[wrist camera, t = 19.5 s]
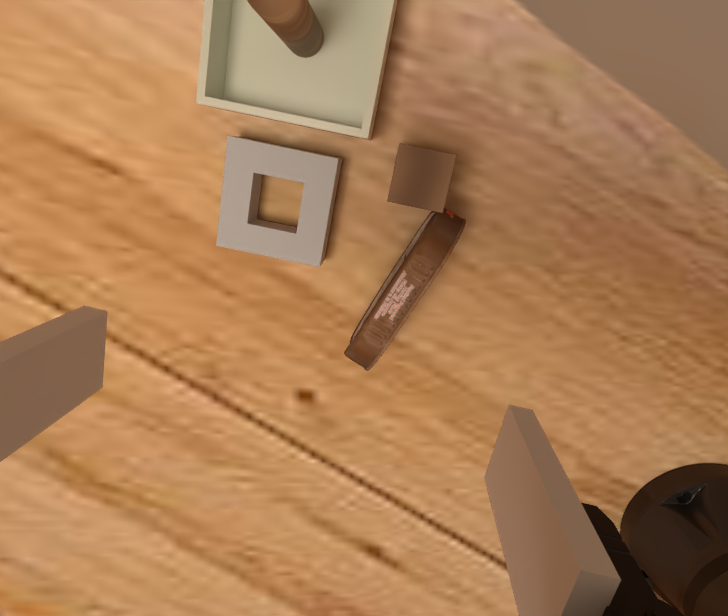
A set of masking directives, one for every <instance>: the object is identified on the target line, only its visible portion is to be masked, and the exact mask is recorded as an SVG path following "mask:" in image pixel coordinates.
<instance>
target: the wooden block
mask: <svg viewBox="0 0 728 616" xmlns="http://www.w3.org/2000/svg"><path fill="white" fill-rule="evenodd" d="M456 156H457V155H454V154H449V153H444V152H439V151H435V150H430V149H425V148H420V147H415V146H411V145H406V144H401V143H399V148H398V153H397V157H396V162H395V167H394V172H393V177H392V181H391V186H390V191H389V196H388V202H393V203H397V204H402V205H407V206H412V207H416V208H421V209H426V210H431V211H436V212H440V213H443V209H444V205H445V201H446V196H447V192H448V188H449V184H450V180H451V176H452V172H453V168H454V164H455V160H456Z"/></svg>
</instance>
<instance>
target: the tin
mask: <svg viewBox="0 0 728 616" xmlns="http://www.w3.org/2000/svg"><path fill="white" fill-rule="evenodd" d="M465 223H466V220H465V219H463V218H460V217H458V216H457V215H455V214H453V213H452V212H450V211H449V210H447V209H446V208H444V209H443V213H440V212H436V211H432V212H431V213H430V215H429V216H428V217H427V219H426V220H425V222H424V223H423V224H422V226H421V227H420V229H419V230H418V232H417V233H416V235H415V236H414V238H413V239H412V241H411V242H410V244H409V246H408V247H407V249H406V250H405V252H404V253H403V255H402V256H401V258H400V259H399V261H398V262H397V264H396V265H395V267H394V268H393V270H392V271H391V273H390V274H389V276H388V277H387V279H386V280H385V282H384V284H383V285H382V287H381V288H380V290H379V292H378V293H377V295H376V296H375V298H374V300H373V301H372V303H371V304H370V306H369V308H368V309H367V311H366V313H365V314H364V316H363V318H362V319H361V321H360V323H359V324H358V326H357V328H356V329H355V331H354V333H353V335H352V337H351V340H350V344H349V346H348V347H347V349H346V350H345V352H344V354H345V356H347V357H348V358H349V359H351V360H352V361H354V362H356V363H357V364H359V365H361V366H362V367H364V369H365V370H366V371H368V370H370V369H371V368H372V367H373V366H374V364H375V363H376V362H377V361H378V359H379V358H380V357H381V356H382V354H383V353H384V351H385V350H386V348H387V347H388V346H389V344H390V343H391V341H392V340H393V338H394V337H395V335H396V334H397V332H398V331H399V329H400V328H401V326H402V325H403V324H404V322H405V320H406V319H407V318H408V316H409V315H410V313H411V312H412V310H413V309H414V307H415V306H416V304H417V303H418V301H419V300H420V298H421V297H422V295H423V294H424V293H425V291H426V290H427V288H428V287H429V285H430V284H431V282H432V281H433V279H434V278H435V277H436V275H437V274H438V272H439V271H440V269H441V268H442V266H443V265H444V263H445V261H446V260H447V258H448V256H449V255H450V253H451V252H452V250H453V248H454V246H455V245H456V243H457V241H458V239H459V237H460V235H461V233H462V231H463V229H464V226H465Z"/></svg>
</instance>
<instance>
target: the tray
mask: <svg viewBox="0 0 728 616" xmlns="http://www.w3.org/2000/svg"><path fill="white" fill-rule="evenodd" d="M308 1H309V3H310V5H311V7H312V9H313V11H314V13H315V15H316V17H317V19H318V21H319V23H320V25H321V27H322V29H323V34H324V41H323V44H322V47H321V49H320V50H319V51H318V53H316V54H315V55H314V56H312V57H308V58H303V57H299V56H297V55H295V54H294V53H293V52H292V51H291V50H290V49H289V48H288V47H287V46H286V44H285V43H284V42H283V41H282V40H281V39H280V38H279V37H278V36H277V35H276V33H275V32H274V31H273V30H272V29H271V28H270V27H269V26H268V25H267V24H266V22H265V21H264V20H263V19H262V18H261V17H260V16H259V15H258V14H257V12H256V11H255V10H254V9H253V8H252V7H251V6H250V4H249V3H248V1H247V0H205V4H204V15H203V27H202V39H201V51H200V63H199V75H198V87H197V99H196V103H198V104H202V105H206V106H210V107H214V108H218V109H223V110H228V111H233V112H238V113H242V114H247V115H252V116H257V117H262V118H266V119H271V120H276V121H281V122H285V123H290V124H295V125H300V126H305V127H309V128H314V129H319V130H324V131H329V132H333V133H338V134H343V135H348V136H353V137H357V138H362V139H367V140H371V137H372V132H373V127H374V122H375V117H376V111H377V106H378V101H379V96H380V90H381V85H382V80H383V75H384V70H385V64H386V59H387V54H388V49H389V43H390V38H391V33H392V28H393V23H394V17H395V12H396V7H397V2H398V0H308Z"/></svg>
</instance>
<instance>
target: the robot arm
mask: <svg viewBox="0 0 728 616" xmlns="http://www.w3.org/2000/svg"><path fill="white" fill-rule="evenodd" d="M106 325H107V311H105V310H100V309H96V308H92V307H88V306H83V307H80V308H78V309H76V310H73V311H71V312H69V313H66V314H64V315H62V316H60V317H57V318H55V319H53V320H50V321H48V322H46V323H43V324H41V325H39V326H36V327H34V328H32V329H30V330H27V331H25V332H23V333H20V334H18V335H16V336H13V337H11V338H9V339H6V340H4V341H2V342H0V462H1V461H2V460H4V459H5V458H7V457H8V456H9V455H11V454H12V453H13V452H15V451H16V450H18V449H19V448H20V447H22V446H23V445H24V444H26V443H27V442H28V441H30V440H31V439H33V438H34V437H35V436H37V435H38V434H39V433H41V432H42V431H44V430H45V429H46V428H48V427H49V426H50V425H52V424H53V423H55V422H56V421H57V420H59V419H60V418H61V417H63V416H64V415H66V414H67V413H68V412H70V411H71V410H72V409H74V408H75V407H77V406H78V405H79V404H81V403H82V402H83V401H85V400H86V399H87V398H89V397H90V396H92V395H93V394H94V393H96V392H97V391H98V390H100V389H101V388H103V372H104V356H105V341H106ZM484 478H485V482H486V486H487V490H488V494H489V498H490V502H491V506H492V510H493V514H494V518H495V522H496V526H497V530H498V534H499V538H500V542H501V546H502V549H503V553H504V557H505V561H506V565H507V569H508V573H509V577H510V581H511V585H512V589H513V593H514V597H515V601H516V605H517V609H518V613H519V616H728V466H725V465H717V464H702V465H693V466H688V467H684V468H680V469H677V470H674V471H671V472H669V473H666V474H664V475H662V476H660V477H658V478H657V479H655V480H653V481H652V482H651V483H649V484H648V485H647V486H645V487H644V488H643V489H642V490H641V491H640V492H639V493H638V494H637V495H636V496H635V497H634V498H633V500H632V501H631V502H630V504H629V506H628V507H627V509H626V511H625V513H624V516H623V519H622V523H621V531H620V534H619V532H618V530H617V528H616V527H615V525H614V523H613V522H612V521H611V520H610V519H609V518H608V517H607V516H606V515H605V514H604V513H603V512H602V511H601V510H600V509H599V508H598V507H597V506H593V505H589V504H584V503H581V502H580V500H579V498H578V496H577V494H576V492H575V490H574V488H573V487H572V485H571V483H570V481H569V479H568V477H567V475H566V473H565V471H564V469H563V467H562V465H561V464H560V462H559V460H558V458H557V456H556V454H555V452H554V450H553V448H552V446H551V444H550V442H549V441H548V439H547V437H546V435H545V433H544V431H543V429H542V427H541V425H540V423H539V421H538V419H537V418H536V416H535V414H534V412H533V410H530V409H526V408H522V407H517V406H513V405H508V408H507V411H506V414H505V417H504V420H503V423H502V426H501V429H500V432H499V435H498V438H497V441H496V444H495V447H494V450H493V453H492V456H491V459H490V462H489V465H488V468H487V471H486V474H485V477H484ZM652 589H653V590H654V591H655V592H656V593H657V594H658V595H659V596H661V597H662V598H663V599H664V600H665V601H666V602H667V603H668V604H667V603H665V602H663V601H661V600H658V599H657V597H656V595H655V594H654V592H653V590H652ZM669 604H670V605H671V606H670V605H669Z"/></svg>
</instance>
